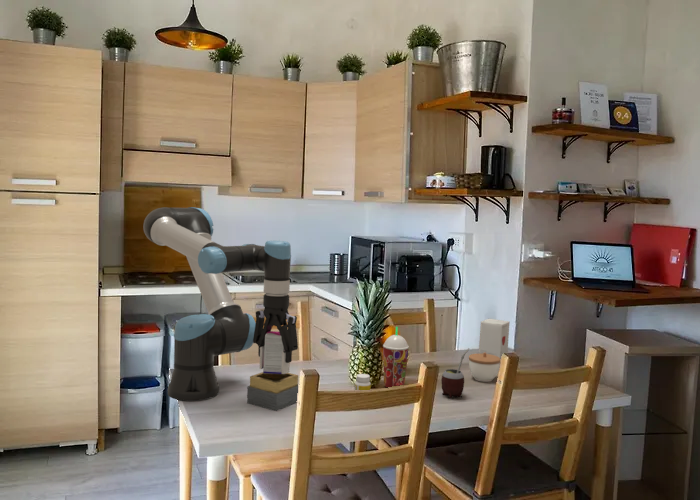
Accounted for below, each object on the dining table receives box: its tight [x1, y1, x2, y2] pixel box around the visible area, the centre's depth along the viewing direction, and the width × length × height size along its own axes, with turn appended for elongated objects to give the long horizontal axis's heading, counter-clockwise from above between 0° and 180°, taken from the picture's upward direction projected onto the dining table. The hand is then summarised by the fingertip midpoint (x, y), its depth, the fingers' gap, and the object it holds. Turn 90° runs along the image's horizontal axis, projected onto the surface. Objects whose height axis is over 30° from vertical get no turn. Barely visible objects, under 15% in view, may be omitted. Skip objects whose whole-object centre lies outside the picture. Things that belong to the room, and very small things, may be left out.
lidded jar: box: [468, 352, 501, 383], centre depth 218 cm, size 11×11×9 cm
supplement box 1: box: [262, 330, 285, 374], centre depth 185 cm, size 6×6×12 cm
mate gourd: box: [440, 347, 470, 400], centre depth 198 cm, size 8×8×15 cm
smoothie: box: [382, 326, 410, 388], centre depth 205 cm, size 8×8×20 cm
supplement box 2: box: [478, 318, 510, 359], centre depth 246 cm, size 9×9×15 cm
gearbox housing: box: [246, 371, 299, 412], centre depth 186 cm, size 11×11×8 cm
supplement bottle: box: [354, 373, 372, 391], centre depth 189 cm, size 5×5×8 cm
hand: (274, 370), depth 186 cm, fingers closed on supplement box 1, 8 cm apart
